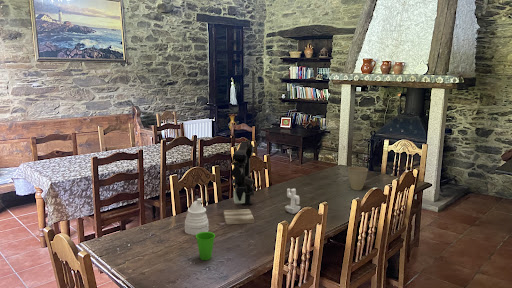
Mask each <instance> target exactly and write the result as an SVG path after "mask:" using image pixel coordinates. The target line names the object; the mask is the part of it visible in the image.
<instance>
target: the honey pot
mask: <svg viewBox="0 0 512 288" xmlns="http://www.w3.org/2000/svg"><path fill="white" fill-rule="evenodd" d="M202 201H203V198H197V199H196V200H194V201H193V202H192V203H191V205H190V207H189V208H188V209H187V214H186V217H185V220H184V232H185V233H186V234H188V235H190V234H191V235H192V236H196V235H197V234H198V233H200V232H209V219H208V216H207V213H206V212H207V208H206V207H204V206H203V205H202ZM191 235H190V236H191Z"/></svg>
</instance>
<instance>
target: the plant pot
mask: <svg viewBox="0 0 512 288" xmlns="http://www.w3.org/2000/svg"><path fill="white" fill-rule="evenodd" d="M368 172H369V168H367V167H364V166H349V167H347V176H348V180H349V185H350V188H351V190H353V191H362V190H363V187H364V185H365V182H366V179H367V176H368Z"/></svg>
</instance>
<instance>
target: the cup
mask: <svg viewBox="0 0 512 288" xmlns="http://www.w3.org/2000/svg"><path fill="white" fill-rule="evenodd" d="M215 237H216V234H215V233H214V232H212V231H208V232H200V233H198V234H197V235H195V238H196V243H197V248H198V249H197V250H198V253H199V254H198V255H199V258H200V260H202V261H208V260H210V259H211V258H212V254H213V248H214V242H215Z"/></svg>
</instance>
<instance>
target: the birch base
mask: <svg viewBox="0 0 512 288" xmlns="http://www.w3.org/2000/svg"><path fill="white" fill-rule="evenodd" d="M223 217H224V221H225V223H226V225H235V224H236V225H240V224H254V223H255V218H254V216H253V214H252V211H251V209H248V208H247V209H224V210H223Z"/></svg>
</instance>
